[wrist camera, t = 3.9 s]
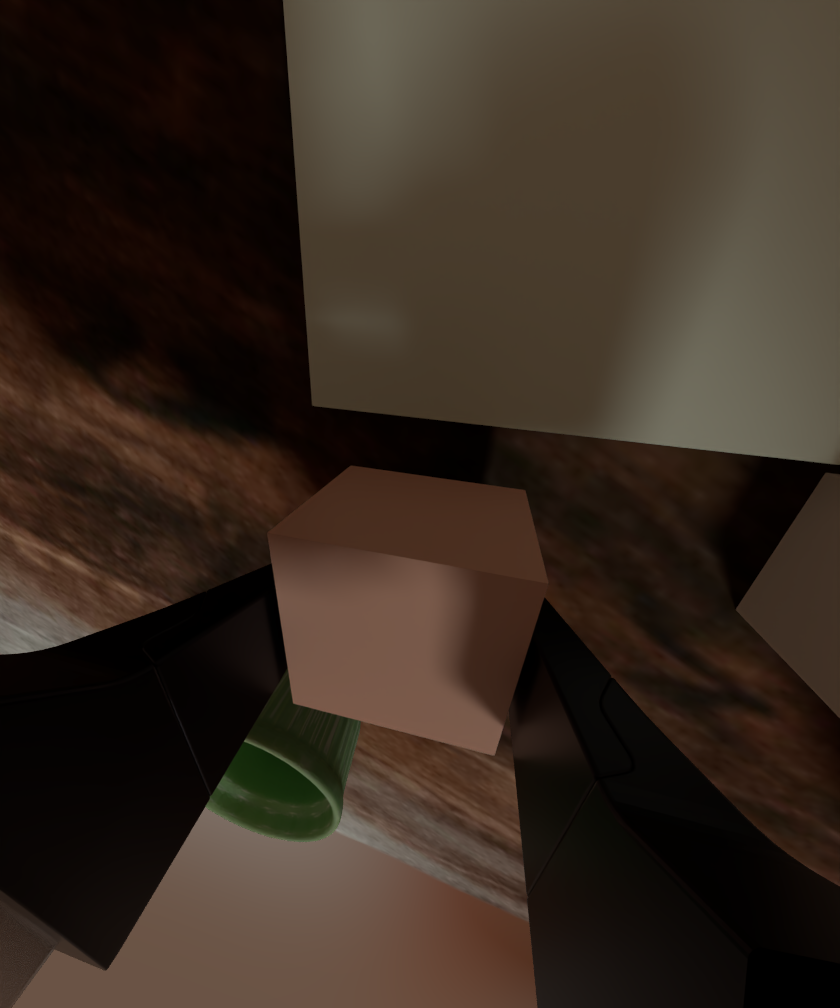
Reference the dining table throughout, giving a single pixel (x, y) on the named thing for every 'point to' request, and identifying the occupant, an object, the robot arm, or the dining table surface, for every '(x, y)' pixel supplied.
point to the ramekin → (289, 771)
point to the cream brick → (804, 594)
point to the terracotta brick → (409, 602)
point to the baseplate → (575, 215)
